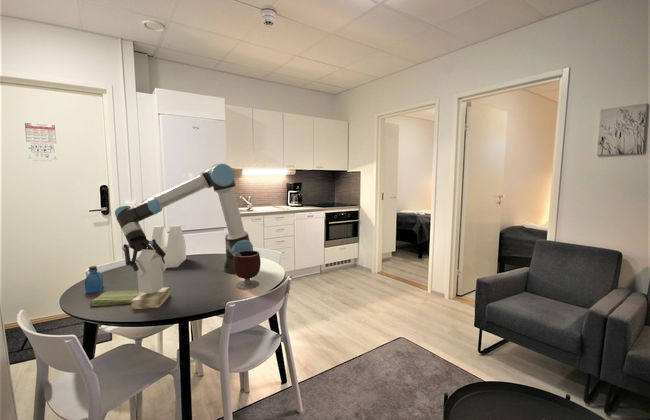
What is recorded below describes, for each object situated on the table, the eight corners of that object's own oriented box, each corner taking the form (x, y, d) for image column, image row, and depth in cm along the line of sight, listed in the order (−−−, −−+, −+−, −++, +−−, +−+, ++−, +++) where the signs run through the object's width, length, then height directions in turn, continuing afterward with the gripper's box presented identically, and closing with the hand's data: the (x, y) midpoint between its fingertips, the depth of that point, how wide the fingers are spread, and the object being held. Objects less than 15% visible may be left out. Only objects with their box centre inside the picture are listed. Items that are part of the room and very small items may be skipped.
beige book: (169, 295, 147) (169, 287, 147) (159, 307, 134) (158, 298, 133) (145, 296, 145) (144, 288, 145) (132, 309, 132) (131, 300, 131)
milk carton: (152, 294, 135) (149, 252, 133) (138, 292, 136) (135, 251, 134) (163, 288, 142) (161, 248, 140) (150, 287, 143) (147, 247, 141)
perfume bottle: (85, 293, 150) (83, 269, 149) (88, 289, 155) (86, 266, 154) (101, 291, 153) (99, 267, 151) (103, 287, 158) (101, 264, 157)
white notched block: (177, 267, 193) (174, 228, 190) (151, 268, 190) (148, 228, 188) (186, 259, 212) (184, 223, 209) (162, 260, 209) (160, 224, 207)
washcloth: (132, 305, 137) (131, 298, 137) (88, 308, 134) (87, 301, 134) (144, 294, 150) (143, 287, 150) (104, 296, 147) (103, 290, 146)
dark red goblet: (252, 278, 171) (251, 243, 169) (266, 285, 161) (265, 248, 159) (226, 285, 160) (224, 248, 158) (239, 293, 150) (238, 253, 148)
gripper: (155, 235, 154) (174, 271, 147) (105, 243, 136) (124, 284, 129) (160, 225, 151) (179, 262, 143) (109, 232, 133) (129, 274, 125)
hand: (153, 272), depth 136 cm, fingers closed on milk carton, 9 cm apart
